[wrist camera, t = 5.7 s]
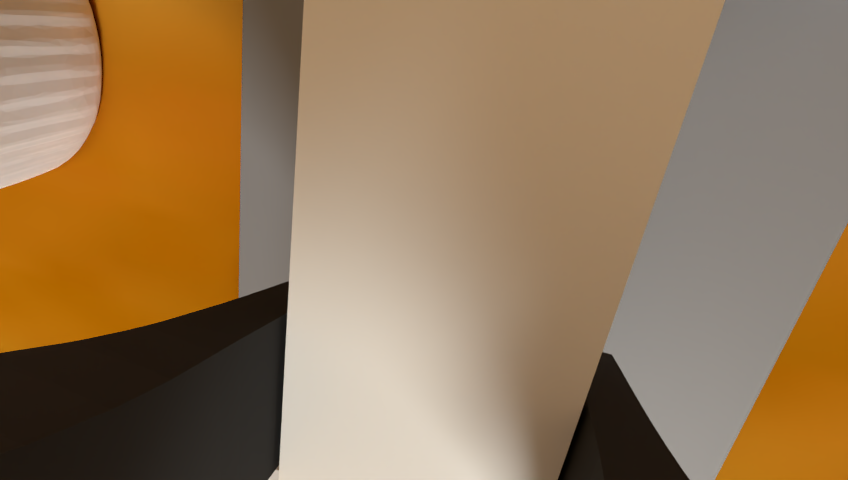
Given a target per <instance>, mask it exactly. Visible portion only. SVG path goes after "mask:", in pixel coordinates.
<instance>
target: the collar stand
mask: <svg viewBox="0 0 848 480" xmlns="http://www.w3.org/2000/svg"><path fill="white" fill-rule="evenodd" d="M303 8H304V0H243V40H242V110H241V181H240V252H239V298H240V297H243V296H246V295H249V294H252V293H255V292H258V291H261V290H264V289H267V288H270V287H273V286H276V285H279V284H281V283H284V282H287V281H289V272H290V253H291V234H292V215H293V197H294V178H295V159H296V140H297V121H298V102H299V83H300V64H301V46H302V27H303ZM847 223H848V0H725V3H724V5H723V8H722V11H721V14H720V17H719V20H718V23H717V25H716V28H715V31H714V34H713V37H712V40H711V43H710V45H709V48H708V51H707V54H706V57H705V60H704V63H703V65H702V68H701V71H700V74H699V77H698V80H697V83H696V85H695V88H694V91H693V94H692V97H691V100H690V103H689V106H688V108H687V111H686V114H685V117H684V120H683V123H682V126H681V128H680V131H679V134H678V137H677V140H676V143H675V146H674V148H673V151H672V154H671V157H670V160H669V163H668V166H667V168H666V171H665V174H664V177H663V180H662V183H661V186H660V188H659V191H658V194H657V197H656V200H655V203H654V206H653V209H652V211H651V214H650V217H649V220H648V223H647V226H646V229H645V231H644V234H643V237H642V240H641V243H640V246H639V249H638V251H637V254H636V257H635V260H634V263H633V266H632V269H631V271H630V274H629V277H628V280H627V283H626V286H625V289H624V291H623V294H622V297H621V300H620V303H619V306H618V309H617V311H616V314H615V317H614V320H613V323H612V326H611V329H610V332H609V334H608V337H607V340H606V343H605V346H604V349H603V352H605V353H608V354H612V356H613V357H614V359H615V361H616V362H617V364H618V366H619V368H620V369H621V371H622V373H623V374H624V376H625V378H626V380H627V381H628V383H629V385H630V387H631V388H632V390H633V392H634V394H635V395H636V397H637V399H638V400H639V402H640V404H641V406H642V407H643V409H644V411H645V412H646V414H647V416H648V417H649V419H650V421H651V422H652V424H653V426H654V427H655V429H656V430H657V432H658V433H659V435H660V436H661V438H662V440H663V441H664V443H665V444H666V446H667V447H668V449H669V450H670V452H671V453H672V455H673V456H674V458H675V459H676V461H677V462H678V464H679V465H680V467H681V468H682V470H683V471H684V472H685V474H686V475H687V476H688V478H689V479H690V480H715V478H716V476H717V474H718V472H719V470H720V469H721V467H722V465H723V463H724V461H725V459H726V457H727V455H728V453H729V451H730V449H731V447H732V445H733V443H734V441H735V440H736V438H737V436H738V434H739V432H740V430H741V428H742V426H743V424H744V422H745V420H746V418H747V416H748V414H749V413H750V411H751V409H752V407H753V405H754V403H755V401H756V399H757V397H758V395H759V393H760V391H761V389H762V387H763V385H764V384H765V382H766V380H767V378H768V376H769V374H770V372H771V370H772V368H773V366H774V364H775V362H776V360H777V358H778V356H779V355H780V353H781V351H782V349H783V347H784V345H785V343H786V341H787V339H788V337H789V335H790V333H791V331H792V329H793V327H794V326H795V324H796V322H797V320H798V318H799V316H800V314H801V312H802V310H803V308H804V306H805V304H806V302H807V300H808V299H809V297H810V295H811V293H812V291H813V289H814V287H815V285H816V283H817V281H818V279H819V277H820V275H821V273H822V271H823V270H824V268H825V266H826V264H827V262H828V260H829V258H830V256H831V254H832V252H833V250H834V248H835V246H836V244H837V242H838V241H839V239H840V237H841V235H842V233H843V231H844V229H845V227H846V225H847ZM268 480H279V466H278V467H277V469H276V470H275V471H274V473H273V474H272V475H271V477H270V478H269V479H268Z"/></svg>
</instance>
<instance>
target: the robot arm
mask: <svg viewBox="0 0 848 480" xmlns="http://www.w3.org/2000/svg"><path fill="white" fill-rule="evenodd" d="M288 291H289V281H287V282H284V283H281V284H279V285H276V286H273V287H270V288H267V289H264V290H261V291H258V292H255V293H252V294H249V295H246V296H243V297H240V298H237V299H235V300H232V301H229V302H226V303H223V304H219V305H216V306H213V307H209V308H206V309H203V310H199V311H196V312H193V313H189V314H186V315H182V316H179V317H176V318H172V319H169V320H166V321H162V322H158V323H155V324H151V325H147V326H143V327H139V328H135V329H131V330H126V331H122V332H117V333H113V334H108V335H103V336H99V337H94V338H89V339H84V340H79V341H74V342H68V343H62V344H56V345H49V346H43V347H36V348H30V349H24V350H17V351H11V352H5V353H0V480H268V479H269V478H270V477H271V475H272V474H273V473H274V471H275V470H276V469H277V467H278V466H279V461H280V442H281V423H282V404H283V385H284V366H285V348H286V329H287V310H288ZM558 480H690V479H689V478H688V476H687V475H686V474H685V472H684V471H683V470H682V468H681V467H680V465H679V464H678V462H677V461H676V459H675V458H674V456H673V455H672V453H671V452H670V450H669V449H668V447H667V446H666V444H665V443H664V441H663V440H662V438H661V436H660V435H659V433H658V432H657V430H656V429H655V427H654V426H653V424H652V422H651V421H650V419H649V417H648V416H647V414H646V412H645V411H644V409H643V407H642V406H641V404H640V402H639V400H638V399H637V397H636V395H635V394H634V392H633V390H632V388H631V387H630V385H629V383H628V381H627V380H626V378H625V376H624V374H623V373H622V371H621V369H620V368H619V366H618V364H617V362H616V361H615V359H614V357H613V356H612V354H608V353H605V352H602V354H601V357H600V360H599V363H598V366H597V369H596V372H595V374H594V377H593V380H592V383H591V386H590V389H589V392H588V394H587V397H586V400H585V403H584V406H583V409H582V412H581V414H580V417H579V420H578V423H577V426H576V429H575V432H574V435H573V437H572V440H571V443H570V446H569V449H568V452H567V455H566V457H565V460H564V463H563V466H562V469H561V472H560V475H559V477H558Z"/></svg>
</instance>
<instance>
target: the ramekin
mask: <svg viewBox="0 0 848 480" xmlns="http://www.w3.org/2000/svg"><path fill="white" fill-rule="evenodd" d="M101 86H102V62H101V51H100V44H99V37H98V32H97V27H96V23H95V20H94V16H93V12H92V9H91V6H90V3H89V0H0V189H1V188H4V187H7V186H10V185H13V184H16V183H19V182H22V181H24V180H27V179H30V178H32V177H35V176H38V175H40V174H43V173H45V172H48V171H50V170H53V169H55V168H57V167H59V166H60V165H62V164H63V163H64V162H66V161H67V160H69V159H70V158H71V157H72V156H73V155H74V154H75V153H76V152H77V151H78V150H79V149H80V148H81V146H82V145H83V143H84V142H85V140H86V138H87V137H88V135H89V133H90V131H91V129H92V127H93V124H94V122H95V120H96V116H97V113H98V108H99V104H100V98H101Z"/></svg>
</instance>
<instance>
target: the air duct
mask: <svg viewBox="0 0 848 480" xmlns="http://www.w3.org/2000/svg"><path fill="white" fill-rule="evenodd" d="M724 3H725V0H304V8H303V27H302V46H301V64H300V83H299V102H298V121H297V140H296V159H295V178H294V197H293V215H292V234H291V253H290V272H289V291H288V310H287V329H286V348H285V366H284V385H283V404H282V423H281V442H280V461H279V480H558V477H559V475H560V472H561V469H562V466H563V463H564V460H565V457H566V455H567V452H568V449H569V446H570V443H571V440H572V437H573V435H574V432H575V429H576V426H577V423H578V420H579V417H580V414H581V412H582V409H583V406H584V403H585V400H586V397H587V394H588V392H589V389H590V386H591V383H592V380H593V377H594V374H595V372H596V369H597V366H598V363H599V360H600V357H601V354H602V352H603V349H604V346H605V343H606V340H607V337H608V334H609V332H610V329H611V326H612V323H613V320H614V317H615V314H616V311H617V309H618V306H619V303H620V300H621V297H622V294H623V291H624V289H625V286H626V283H627V280H628V277H629V274H630V271H631V269H632V266H633V263H634V260H635V257H636V254H637V251H638V249H639V246H640V243H641V240H642V237H643V234H644V231H645V229H646V226H647V223H648V220H649V217H650V214H651V211H652V209H653V206H654V203H655V200H656V197H657V194H658V191H659V188H660V186H661V183H662V180H663V177H664V174H665V171H666V168H667V166H668V163H669V160H670V157H671V154H672V151H673V148H674V146H675V143H676V140H677V137H678V134H679V131H680V128H681V126H682V123H683V120H684V117H685V114H686V111H687V108H688V106H689V103H690V100H691V97H692V94H693V91H694V88H695V85H696V83H697V80H698V77H699V74H700V71H701V68H702V65H703V63H704V60H705V57H706V54H707V51H708V48H709V45H710V43H711V40H712V37H713V34H714V31H715V28H716V25H717V23H718V20H719V17H720V14H721V11H722V8H723V5H724Z"/></svg>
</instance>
